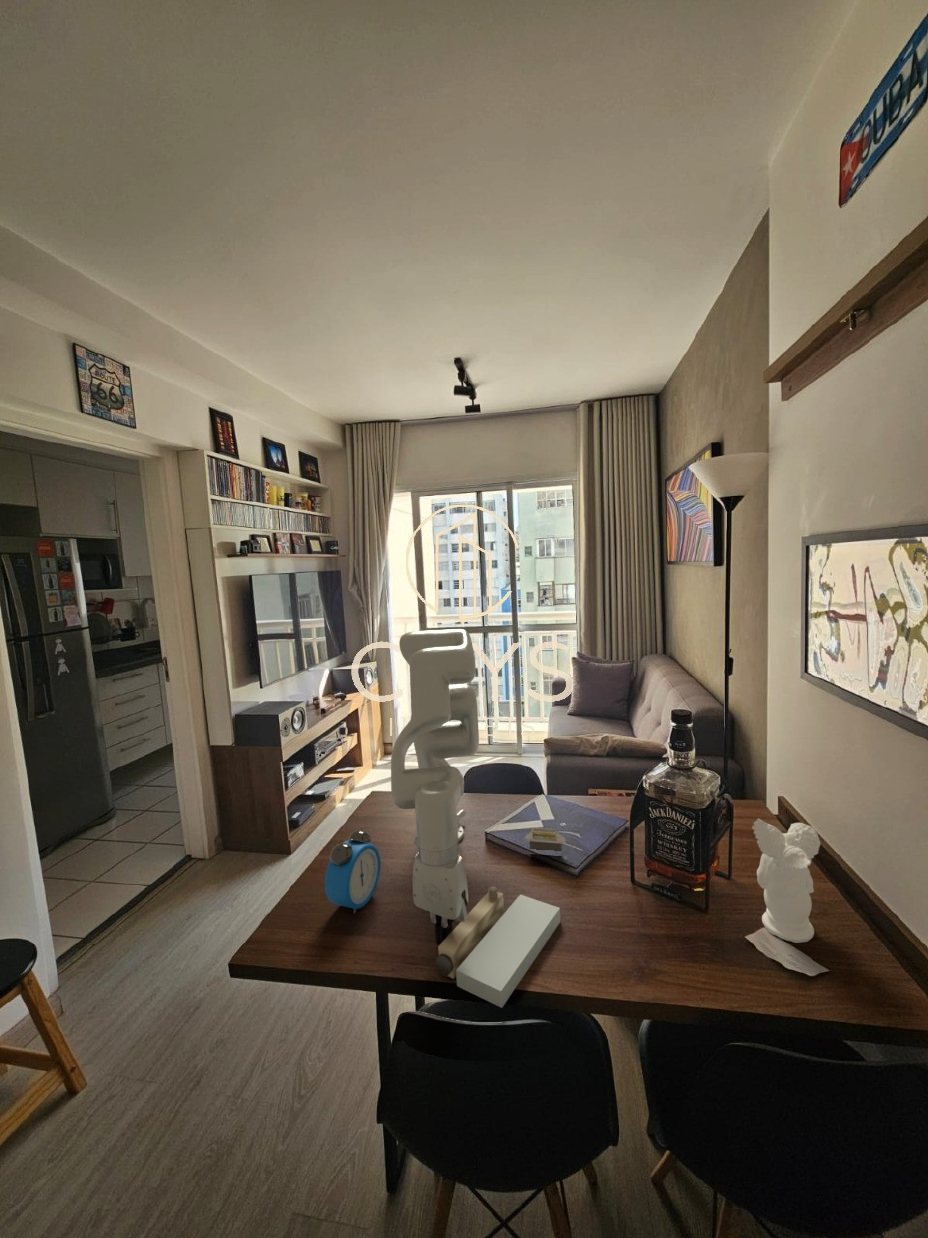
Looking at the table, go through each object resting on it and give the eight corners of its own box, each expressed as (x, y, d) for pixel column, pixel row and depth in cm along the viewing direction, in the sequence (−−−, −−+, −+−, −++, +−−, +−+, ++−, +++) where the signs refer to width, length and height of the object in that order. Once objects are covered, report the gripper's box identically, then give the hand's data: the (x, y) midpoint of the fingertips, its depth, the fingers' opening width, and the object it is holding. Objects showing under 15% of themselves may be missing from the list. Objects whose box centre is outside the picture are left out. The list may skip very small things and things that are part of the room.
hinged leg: (491, 911, 109) (489, 883, 109) (504, 916, 108) (503, 887, 107) (435, 977, 93) (433, 943, 92) (450, 984, 91) (448, 949, 90)
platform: (514, 840, 139) (513, 816, 138) (583, 845, 134) (582, 821, 133) (507, 865, 127) (505, 840, 127) (582, 872, 123) (581, 846, 122)
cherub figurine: (807, 915, 104) (811, 809, 101) (841, 962, 91) (846, 843, 89) (742, 910, 106) (744, 807, 103) (766, 955, 93) (769, 839, 91)
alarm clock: (349, 924, 109) (343, 855, 107) (325, 917, 111) (319, 850, 110) (383, 887, 120) (378, 825, 119) (361, 882, 123) (356, 821, 121)
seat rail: (521, 907, 110) (520, 894, 110) (560, 922, 105) (559, 908, 105) (457, 986, 91) (456, 970, 90) (501, 1008, 86) (500, 991, 85)
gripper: (394, 849, 97) (401, 940, 99) (461, 871, 89) (467, 969, 91) (418, 831, 103) (424, 916, 106) (483, 850, 95) (488, 941, 98)
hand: (444, 940), depth 98 cm, fingers closed
